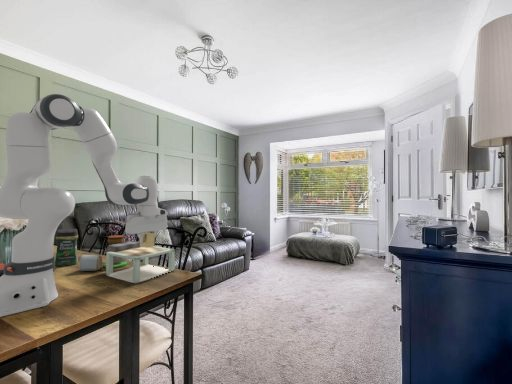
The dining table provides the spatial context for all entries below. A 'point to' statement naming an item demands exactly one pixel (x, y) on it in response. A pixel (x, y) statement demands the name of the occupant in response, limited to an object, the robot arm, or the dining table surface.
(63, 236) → the coffee jar
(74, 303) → the dining table surface
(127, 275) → the frame
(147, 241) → the block
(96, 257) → the ceramic mug
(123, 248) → the trapdoor plate
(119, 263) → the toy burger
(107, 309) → the dining table surface
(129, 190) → the robot arm
